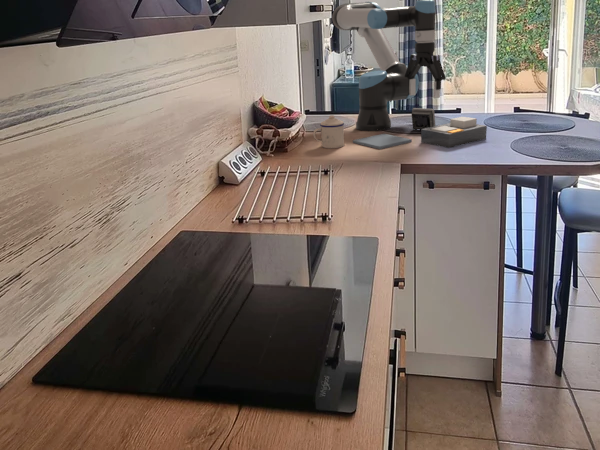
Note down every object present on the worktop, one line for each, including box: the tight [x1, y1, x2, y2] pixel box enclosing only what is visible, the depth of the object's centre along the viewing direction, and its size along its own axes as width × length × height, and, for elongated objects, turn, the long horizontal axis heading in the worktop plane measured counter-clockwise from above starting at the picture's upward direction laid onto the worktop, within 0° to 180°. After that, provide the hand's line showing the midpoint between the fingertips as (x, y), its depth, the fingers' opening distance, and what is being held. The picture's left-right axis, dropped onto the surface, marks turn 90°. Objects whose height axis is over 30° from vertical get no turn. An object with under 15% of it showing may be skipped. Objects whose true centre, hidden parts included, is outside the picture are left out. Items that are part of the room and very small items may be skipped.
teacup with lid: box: [312, 115, 345, 149], centre depth 220 cm, size 12×9×12 cm
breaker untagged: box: [449, 116, 478, 128], centre depth 219 cm, size 7×7×3 cm
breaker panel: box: [420, 122, 488, 149], centre depth 218 cm, size 14×20×5 cm
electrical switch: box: [411, 107, 437, 130], centre depth 238 cm, size 9×5×9 cm, turn 57°
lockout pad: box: [352, 133, 413, 150], centre depth 223 cm, size 16×16×1 cm
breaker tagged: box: [431, 126, 458, 133], centre depth 215 cm, size 7×7×3 cm
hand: (424, 96), depth 234 cm, fingers open, 13 cm apart
